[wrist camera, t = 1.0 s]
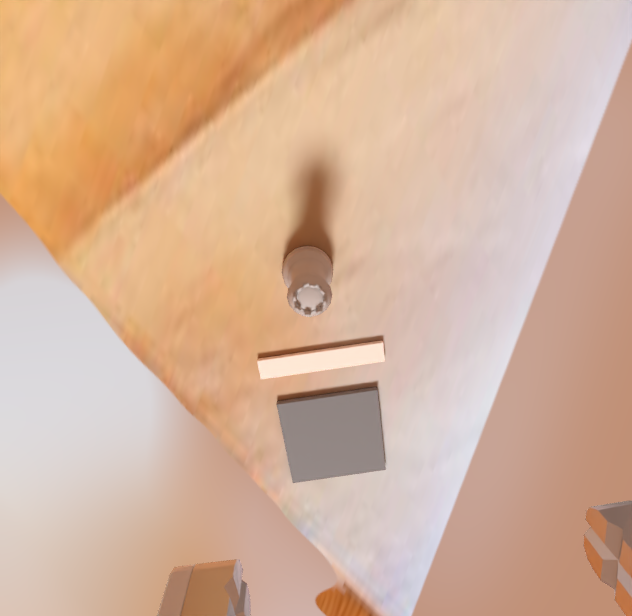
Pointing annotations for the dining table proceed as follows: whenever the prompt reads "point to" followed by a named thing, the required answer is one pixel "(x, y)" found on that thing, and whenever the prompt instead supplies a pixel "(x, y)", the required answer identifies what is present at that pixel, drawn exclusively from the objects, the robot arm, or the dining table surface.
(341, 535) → the dining table surface
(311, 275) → the rook chess piece
